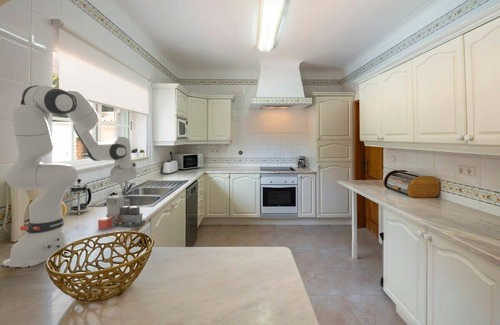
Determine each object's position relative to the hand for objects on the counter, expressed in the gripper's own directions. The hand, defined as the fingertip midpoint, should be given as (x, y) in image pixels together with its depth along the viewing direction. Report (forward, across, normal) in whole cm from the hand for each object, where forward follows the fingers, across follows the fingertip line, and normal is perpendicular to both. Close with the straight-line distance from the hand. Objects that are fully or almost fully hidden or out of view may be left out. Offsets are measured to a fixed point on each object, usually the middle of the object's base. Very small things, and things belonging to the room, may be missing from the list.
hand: (124, 188), depth 150 cm
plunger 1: (+17, 0, 0) cm, 17 cm away
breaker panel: (+21, 0, -3) cm, 21 cm away
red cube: (+21, -8, +7) cm, 24 cm away
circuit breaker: (+21, +8, +9) cm, 25 cm away
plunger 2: (+17, 0, -6) cm, 18 cm away
